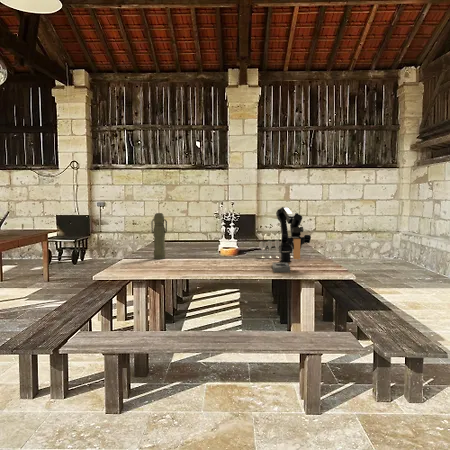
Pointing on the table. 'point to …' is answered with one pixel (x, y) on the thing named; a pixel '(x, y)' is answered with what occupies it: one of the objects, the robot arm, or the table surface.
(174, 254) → the table surface
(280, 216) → the robot arm
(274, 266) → the grey flat block
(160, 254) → the thermos
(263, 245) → the goblet set
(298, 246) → the peg
